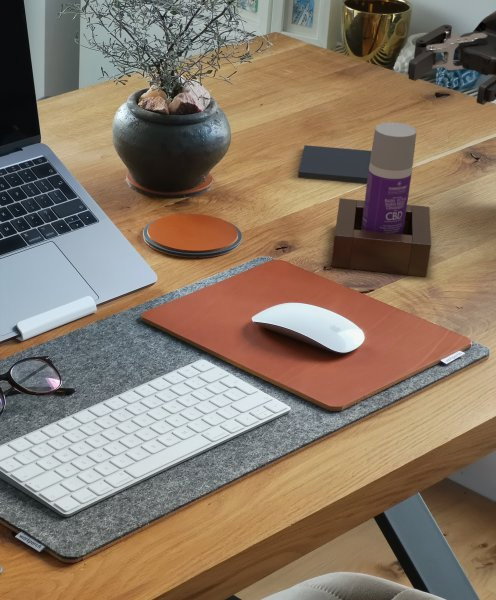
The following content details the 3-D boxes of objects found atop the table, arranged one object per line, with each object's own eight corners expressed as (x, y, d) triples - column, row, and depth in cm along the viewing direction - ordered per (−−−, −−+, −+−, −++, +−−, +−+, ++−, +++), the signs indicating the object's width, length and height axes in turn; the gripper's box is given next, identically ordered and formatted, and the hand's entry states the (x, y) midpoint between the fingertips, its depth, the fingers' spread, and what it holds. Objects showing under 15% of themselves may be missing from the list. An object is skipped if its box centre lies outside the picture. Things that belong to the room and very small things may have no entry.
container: (383, 264, 126) (400, 140, 119) (350, 250, 129) (365, 128, 122) (408, 252, 129) (426, 130, 122) (374, 239, 132) (390, 118, 125)
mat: (376, 156, 155) (377, 151, 154) (374, 184, 146) (375, 178, 146) (303, 150, 157) (304, 145, 157) (298, 177, 148) (298, 171, 148)
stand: (424, 237, 133) (429, 206, 131) (425, 277, 124) (431, 244, 122) (336, 228, 135) (339, 198, 133) (331, 266, 126) (334, 235, 124)
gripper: (472, -15, 131) (393, 34, 123) (587, 17, 123) (510, 72, 115) (463, 44, 136) (386, 94, 128) (573, 78, 128) (499, 135, 120)
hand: (445, 84), depth 121 cm, fingers open, 8 cm apart
